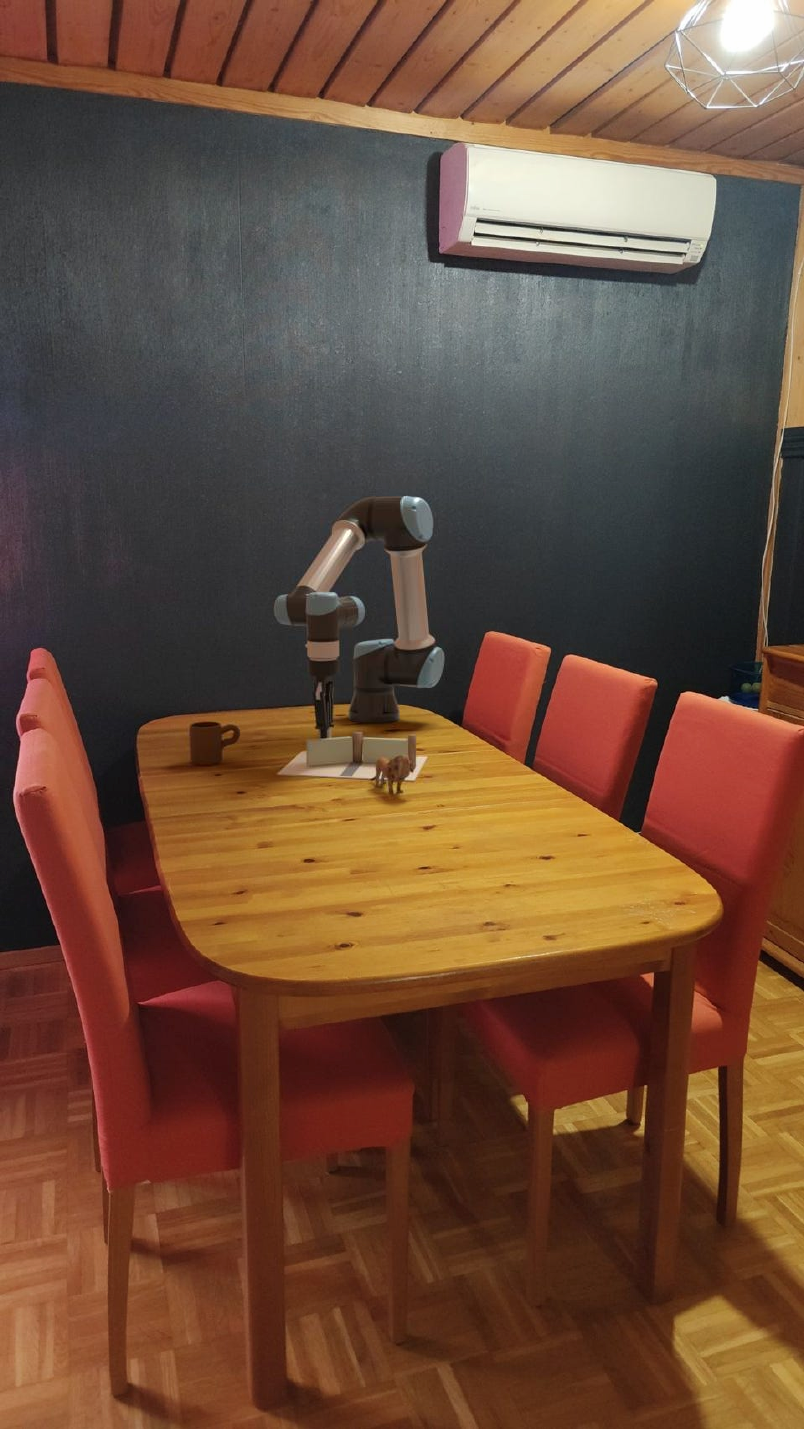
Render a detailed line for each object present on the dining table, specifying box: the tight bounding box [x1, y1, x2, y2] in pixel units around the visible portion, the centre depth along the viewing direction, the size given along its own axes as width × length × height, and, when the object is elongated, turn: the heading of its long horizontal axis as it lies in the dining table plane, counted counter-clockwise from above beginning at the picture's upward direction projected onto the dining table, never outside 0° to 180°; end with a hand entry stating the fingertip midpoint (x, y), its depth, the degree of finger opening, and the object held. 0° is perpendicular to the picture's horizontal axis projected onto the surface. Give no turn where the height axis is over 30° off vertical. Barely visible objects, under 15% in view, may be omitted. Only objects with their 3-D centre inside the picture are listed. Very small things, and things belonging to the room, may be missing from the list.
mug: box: [188, 721, 241, 767], centre depth 232 cm, size 12×8×9 cm, turn 102°
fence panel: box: [305, 735, 353, 766], centre depth 229 cm, size 2×11×6 cm, turn 111°
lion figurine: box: [369, 755, 416, 797], centre depth 209 cm, size 15×5×9 cm, turn 36°
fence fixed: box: [351, 731, 417, 764], centre depth 231 cm, size 2×16×7 cm, turn 81°
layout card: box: [276, 750, 429, 783], centre depth 230 cm, size 22×32×1 cm
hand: (325, 754), depth 232 cm, fingers closed
